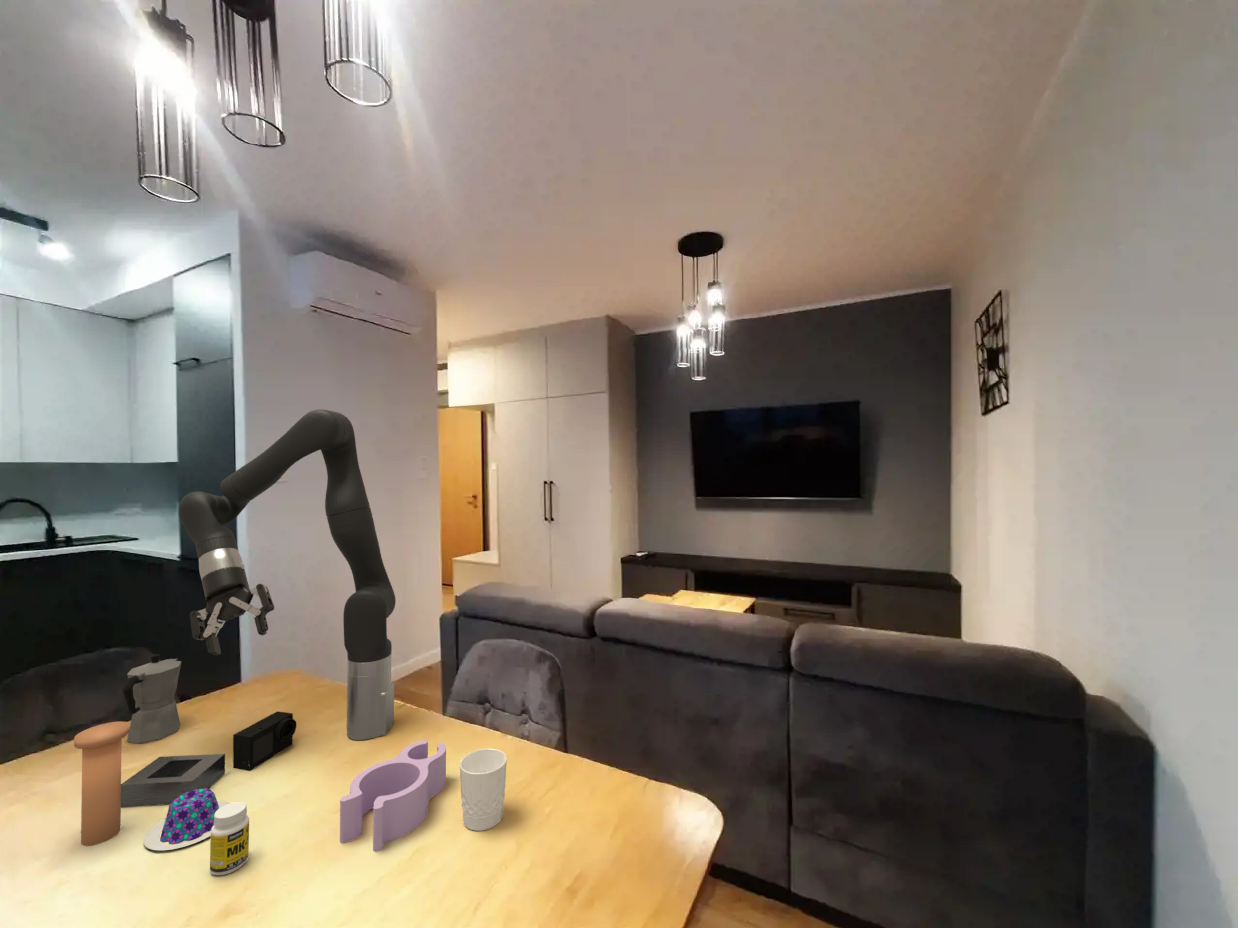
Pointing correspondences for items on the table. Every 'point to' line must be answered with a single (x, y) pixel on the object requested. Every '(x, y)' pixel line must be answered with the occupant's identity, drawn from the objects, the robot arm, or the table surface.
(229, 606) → the robot arm
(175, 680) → the coffeepot
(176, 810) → the pudding
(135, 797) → the frame
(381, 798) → the clip
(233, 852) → the supplement bottle
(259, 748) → the digital camera
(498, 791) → the white cup
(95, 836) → the orange capped cylinder
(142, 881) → the table surface
